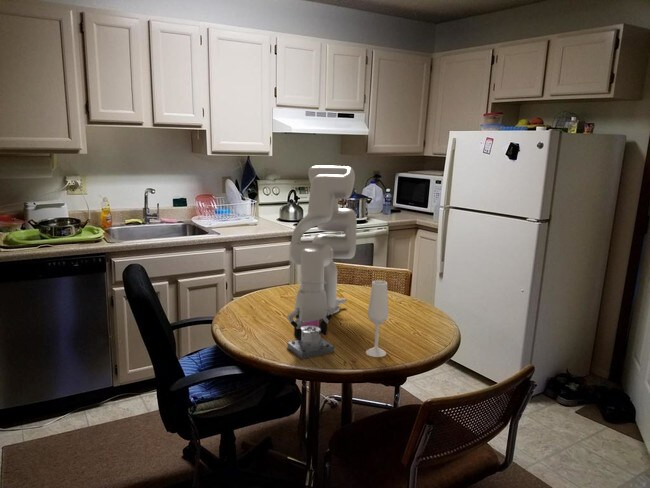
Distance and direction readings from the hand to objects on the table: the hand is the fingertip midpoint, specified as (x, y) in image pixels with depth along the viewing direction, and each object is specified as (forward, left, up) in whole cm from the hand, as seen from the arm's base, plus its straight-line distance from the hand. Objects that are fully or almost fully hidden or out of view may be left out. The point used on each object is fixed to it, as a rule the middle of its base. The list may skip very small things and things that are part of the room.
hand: (310, 336), depth 157 cm
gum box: (-10, -19, -5) cm, 22 cm away
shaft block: (0, 0, -5) cm, 5 cm away
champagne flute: (-18, +12, -5) cm, 22 cm away
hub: (0, -1, -3) cm, 3 cm away
